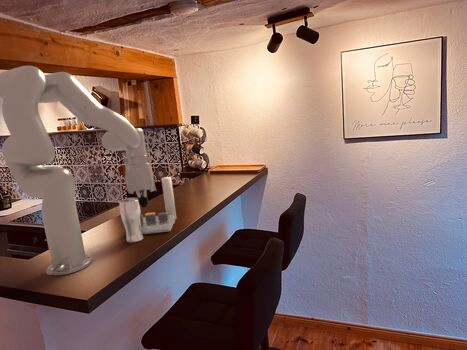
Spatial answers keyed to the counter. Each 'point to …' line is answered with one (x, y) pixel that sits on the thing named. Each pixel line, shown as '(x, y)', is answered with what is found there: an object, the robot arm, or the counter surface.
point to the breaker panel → (157, 225)
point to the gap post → (168, 196)
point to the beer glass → (131, 219)
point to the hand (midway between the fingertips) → (144, 206)
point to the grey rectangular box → (163, 216)
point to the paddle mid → (150, 217)
